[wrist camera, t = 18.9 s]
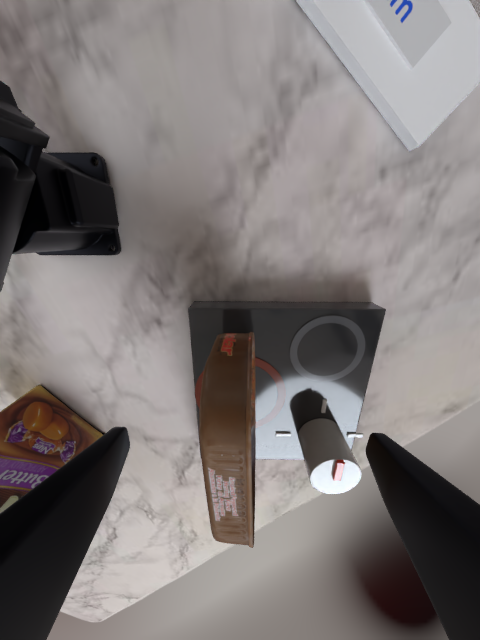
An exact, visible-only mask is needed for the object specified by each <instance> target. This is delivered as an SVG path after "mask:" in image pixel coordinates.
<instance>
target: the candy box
mask: <svg viewBox="0 0 480 640" xmlns="http://www.w3.org/2000/svg"><path fill="white" fill-rule="evenodd" d="M102 436H103V434H102V433H100V432H99V431H97V430H96V429H95V428H93V427H92V426H91V425H89V424H88V423H87V422H86V421H84V420H83V419H82V418H80V417H79V416H78V415H77V414H76V413H74V412H73V411H72V410H71V409H69V408H68V407H67V406H65V405H64V404H63V403H62V402H60V401H59V400H58V399H57V398H55V397H54V396H53V395H51V394H50V393H49V392H48V391H47V390H46V389H44V388H43V387H42V386H41V385H38V386H36V387H35V388H33V389H32V390H30V391H29V392H28V393H26V394H25V395H23V396H22V397H21V398H19V399H18V400H16V401H15V402H14V403H12V404H11V405H9V406H8V407H7V408H5V409H4V410H2V411H1V412H0V513H1V512H3V511H4V510H5V509H7V508H8V507H9V506H11V505H12V504H13V503H15V502H16V501H17V500H19V499H20V498H21V497H23V496H24V495H25V494H26V493H28V492H29V491H30V490H32V489H33V488H34V487H36V486H37V485H38V484H40V483H41V482H42V481H44V480H45V479H46V478H48V477H49V476H50V475H51V474H53V473H54V472H55V471H57V470H58V469H59V468H61V467H62V466H63V465H65V464H66V463H67V462H69V461H70V460H71V459H73V458H74V457H75V456H76V455H78V454H79V453H80V452H82V451H83V450H84V449H86V448H87V447H88V446H90V445H91V444H92V443H94V442H95V441H96V440H98V439H99V438H100V437H102Z"/></svg>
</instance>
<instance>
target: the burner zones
mask: <svg viewBox="0 0 480 640" xmlns="http://www.w3.org/2000/svg"><path fill="white" fill-rule="evenodd" d="M364 351H365V338H364V335H363V332H362V330H361V329H360V328H359V326H358V325H357V324H356V323H354V322H353V321H352V320H350V319H348V318H345V317H342V316H337V315H327V316H322V317H318V318H316V319H313V320H311V321H309V322H308V323H306V324H305V325H304V326H302V327H301V328H300V329H299V330H298V332H297V333H296V334H295V336H294V338H293V340H292V342H291V345H290V359H291V363H292V365H293V367H294V368H295V370H296V371H297V372H298V373H299V374H300V375H302V376H303V377H305V378H307V379H309V380H312V381H317V382H328V381H333V380H337V379H340V378H342V377H344V376H346V375H347V374H349V373H350V372H351V371H353V370H354V369H355V368H356V367H357V365H358V364H359V363H360V361H361V359H362V357H363V355H364ZM203 373H204V370H203V372H202V373H201V374H200V376H199V378H198V380H197V383H196V386H195V398H196V402H197V405H198V407H199V409H200V396H201V387H202V379H203ZM285 397H286V389H285V384H284V381H283V379H282V377H281V375H280V374H279V372H278V371H277V370H276V369H275V368H274V367H273V366H272V365H270V364H269V363H267V362H266V361H264V360H261V359H259V358H256V357H255V413H256V418H255V419H256V428H257V427H260V426H262V425H265V424H267V423H268V422H270V421H271V420H272V419H274V418H275V417H276V416H277V415H278V413H279V412H280V411H281V409H282V407H283V405H284V402H285Z"/></svg>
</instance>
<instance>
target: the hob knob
mask: <svg viewBox="0 0 480 640" xmlns="http://www.w3.org/2000/svg"><path fill="white" fill-rule="evenodd" d="M298 440H299V443H300V447H301V451H302V454H303V458H304V461H305V465H306V469H307V472H308V476H309V479H310V483H311V485H312V486H313V487H314V488H315V489H316V490H318V491H320V492H322V493H327V494H338V493H343V492H346V491H348V490H350V489H352V488H353V487H355V486H356V485H357V484H358V483H359V481H360V479H361V475H362V473H361V469H360V467H359V465H358V463H357V461H356V459H355V457H354V455H353V453H352V451H351V449H350V447H349V445H348V443H347V441H346V439H345V437H344V435H343V434H342V432H341V430H340V428H339V426H338V425H337V424H336V423H335V422H334V421H332V420H329V419H323V418H320V419H314V420H311V421H309V422H307V423H305V424H304V425H303V426H302V427H301V428H300V430H299V433H298Z"/></svg>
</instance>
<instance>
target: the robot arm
mask: <svg viewBox="0 0 480 640" xmlns="http://www.w3.org/2000/svg"><path fill="white" fill-rule="evenodd" d="M21 112H22V111H21V110H20V109H18V107H17V104H16V102H15V99H14V97H13V95H12V92H11V90H10V87H8V86H7V85H6V84H4V83H3V82H2V81H0V292H1V290H2V287H3V284H4V282H3V281H4V278H5V275H6V271H7V268H8V265H9V262H10V259H11V255H12V254H21V253H35V252H36V253H37V254H39V255H117V254H119V253H120V252H121V246H120V240H119V234H118V229H117V228H118V226H119V222H118V216H117V211H116V205H115V199H114V194H113V188H112V187H111V186H110V184H109V178H108V172H107V167H106V162H105V160H104V158H103V157H102V156H100V155H98V154H97V153H45V152H42V150H43V148H46V147H47V144H48V141H49V136H48V135H47V134H45V133H44V132H42V131H41V130H40V129H38V128H37V127H35V123H34V122H33V121H32V120H31V119H29V118H28V117H27V116H25V115H24V114H23V113H21ZM96 159H98V161H99V164H98V166H96V165H95V160H96ZM112 245H113V246H114V247H115V251H113V250H112V249H111V246H112ZM129 448H130V441H129V436H128V431H127V428H126V427H114V428H112V429H111V430H109V431H108V432H107V433H105V434H104V435H103V436H102V437H100V438H99V439H98V440H96V441H95V442H94V443H92V444H91V445H90V446H88V447H87V448H86V449H84V450H83V451H82V452H80V453H79V454H78V455H76V456H75V457H74V458H73V459H71V460H70V461H69V462H67V463H66V464H65V465H63V466H62V467H61V468H59V469H58V470H57V471H55V472H54V473H53V474H51V475H50V476H49V477H48V478H46V479H45V480H44V481H42V482H41V483H40V484H38V485H37V486H36V487H34V488H33V489H32V490H30V491H29V492H28V493H26V494H25V495H24V496H23V497H21V498H20V499H19V500H17V501H16V502H15V503H13V504H12V505H11V506H9V507H8V508H7V509H5V510H4V511H3V512H1V513H0V640H46V639H47V637H48V635H49V633H50V631H51V629H52V626H53V624H54V622H55V620H56V618H57V615H58V613H59V611H60V609H61V607H62V605H63V603H64V600H65V598H66V596H67V594H68V592H69V590H70V587H71V585H72V583H73V581H74V579H75V577H76V574H77V572H78V570H79V568H80V566H81V564H82V561H83V559H84V557H85V555H86V553H87V551H88V549H89V546H90V544H91V542H92V540H93V538H94V536H95V533H96V531H97V529H98V527H99V525H100V523H101V520H102V518H103V516H104V514H105V512H106V510H107V507H108V505H109V503H110V501H111V498H112V496H113V493H114V491H115V488H116V485H117V482H118V480H119V477H120V474H121V471H122V468H123V466H124V463H125V460H126V457H127V454H128V452H129ZM366 456H367V458H368V461H369V464H370V466H371V469H372V472H373V474H374V477H375V480H376V482H377V485H378V488H379V490H380V493H381V496H382V498H383V501H384V503H385V505H386V507H387V510H388V512H389V514H390V516H391V518H392V520H393V522H394V525H395V527H396V529H397V531H398V533H399V535H400V537H401V539H402V541H403V543H404V546H405V548H406V550H407V552H408V554H409V556H410V558H411V560H412V562H413V564H414V566H415V569H416V571H417V573H418V575H419V577H420V579H421V581H422V583H423V586H424V588H425V590H426V592H427V594H428V596H429V598H430V600H431V602H432V604H433V606H434V608H435V611H436V613H437V615H438V617H439V619H440V621H441V623H442V625H443V628H444V630H445V632H446V634H447V636H448V638H449V640H480V505H479V504H478V503H477V502H475V501H474V500H472V499H471V498H470V497H469V496H467V495H466V494H465V493H463V492H462V491H461V490H459V489H458V488H456V487H455V486H454V485H452V484H451V483H450V482H448V481H447V480H446V479H444V478H443V477H442V476H440V475H439V474H438V473H436V472H435V471H434V470H432V469H431V468H430V467H428V466H427V465H425V464H424V463H423V462H421V461H420V460H419V459H417V458H416V457H414V456H413V455H412V454H411V453H409V452H408V451H407V450H405V449H404V448H403V447H401V446H400V445H399V444H397V443H396V442H394V441H393V440H392V439H390V438H389V437H388V436H386V435H385V434H383V433H372V434H371V435H370V437H369V440H368V443H367V446H366Z"/></svg>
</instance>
